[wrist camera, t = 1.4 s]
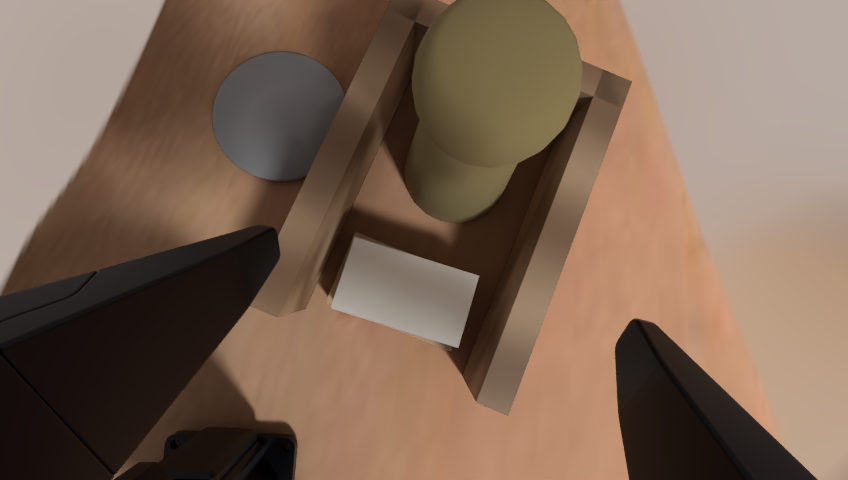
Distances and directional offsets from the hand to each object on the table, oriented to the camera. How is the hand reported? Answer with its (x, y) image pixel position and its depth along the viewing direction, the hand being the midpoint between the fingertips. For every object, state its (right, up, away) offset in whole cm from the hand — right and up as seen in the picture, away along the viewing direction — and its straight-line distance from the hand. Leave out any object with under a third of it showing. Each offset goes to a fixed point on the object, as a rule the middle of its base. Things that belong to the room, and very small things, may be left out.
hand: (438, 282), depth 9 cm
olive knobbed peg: (+1, +5, +12) cm, 13 cm away
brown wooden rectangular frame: (+1, +3, +11) cm, 12 cm away
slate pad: (-9, +8, +11) cm, 16 cm away
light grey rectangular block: (-2, -2, +11) cm, 11 cm away
